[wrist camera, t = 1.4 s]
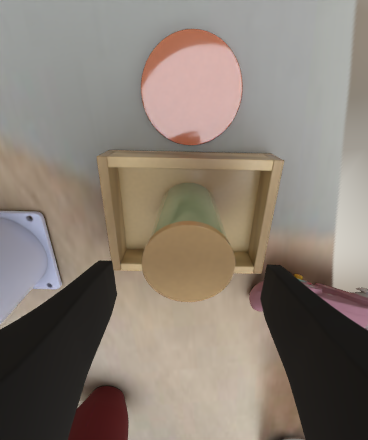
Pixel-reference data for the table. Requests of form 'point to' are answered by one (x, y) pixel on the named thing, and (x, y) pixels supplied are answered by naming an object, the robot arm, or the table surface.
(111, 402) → the mug
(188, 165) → the crate
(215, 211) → the spice jar
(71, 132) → the table surface
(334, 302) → the video game controller
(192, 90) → the coaster
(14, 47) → the table surface
